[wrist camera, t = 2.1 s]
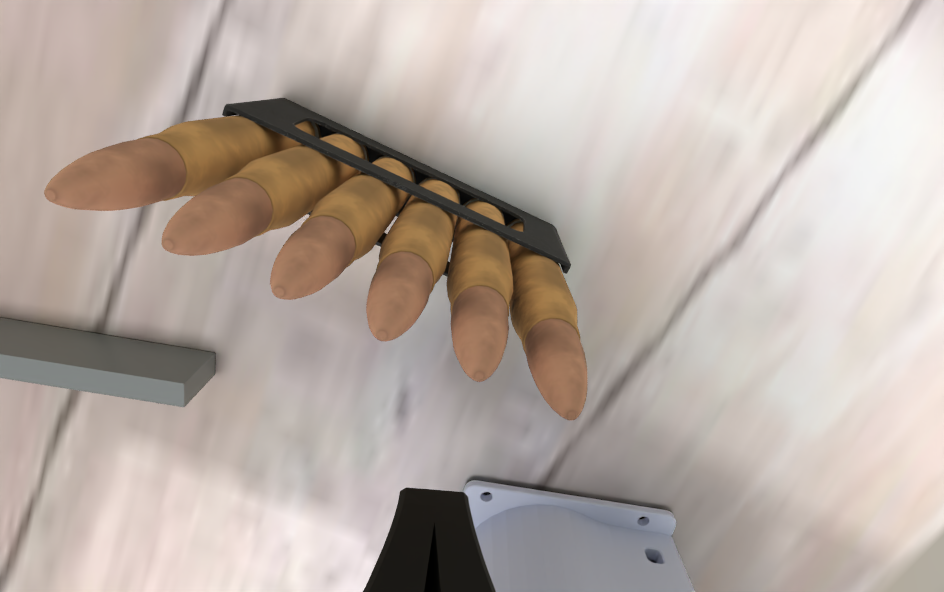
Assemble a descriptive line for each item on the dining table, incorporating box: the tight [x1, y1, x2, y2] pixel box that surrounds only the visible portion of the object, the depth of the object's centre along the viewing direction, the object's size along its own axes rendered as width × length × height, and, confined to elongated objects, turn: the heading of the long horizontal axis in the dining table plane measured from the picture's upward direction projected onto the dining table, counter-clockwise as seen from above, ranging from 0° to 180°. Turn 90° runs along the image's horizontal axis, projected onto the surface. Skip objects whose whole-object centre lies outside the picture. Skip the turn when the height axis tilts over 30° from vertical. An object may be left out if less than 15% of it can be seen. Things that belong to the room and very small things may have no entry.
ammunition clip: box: [44, 98, 587, 420], centre depth 14 cm, size 11×2×12 cm, turn 65°
